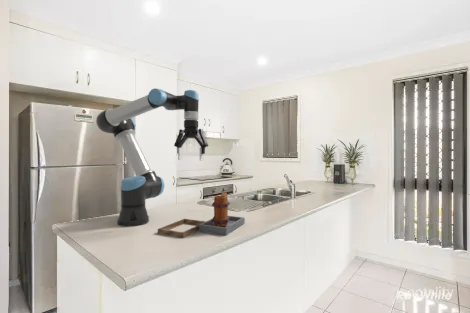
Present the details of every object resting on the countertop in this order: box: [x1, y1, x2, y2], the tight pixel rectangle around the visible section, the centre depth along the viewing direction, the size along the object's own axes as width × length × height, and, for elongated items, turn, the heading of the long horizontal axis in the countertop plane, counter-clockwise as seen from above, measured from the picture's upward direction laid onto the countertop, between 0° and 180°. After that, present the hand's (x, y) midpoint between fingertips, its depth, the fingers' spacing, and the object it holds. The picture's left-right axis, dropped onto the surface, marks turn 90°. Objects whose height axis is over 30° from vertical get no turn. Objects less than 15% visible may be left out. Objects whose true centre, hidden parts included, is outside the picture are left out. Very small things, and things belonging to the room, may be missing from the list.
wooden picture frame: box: [157, 218, 207, 239], centre depth 118 cm, size 14×20×2 cm
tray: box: [198, 215, 246, 236], centre depth 122 cm, size 14×21×3 cm, turn 156°
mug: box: [211, 192, 230, 227], centre depth 122 cm, size 15×8×15 cm, turn 168°
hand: (190, 160), depth 134 cm, fingers open, 13 cm apart
